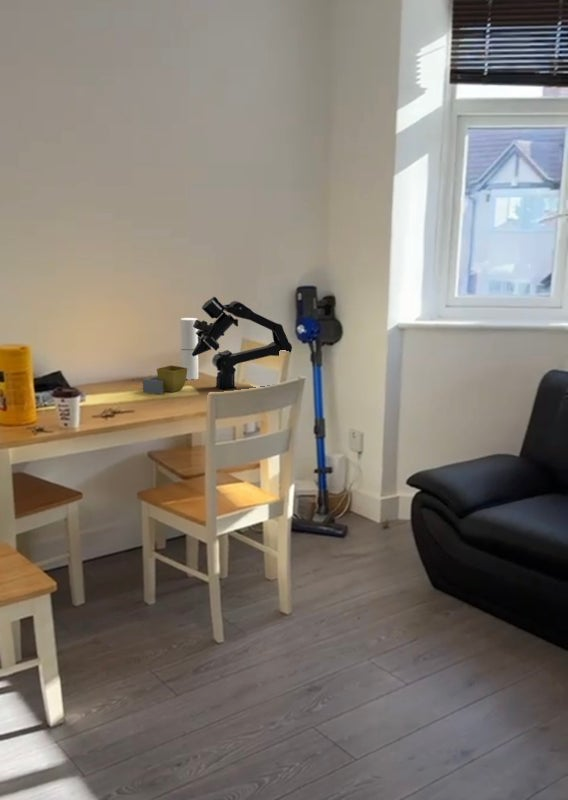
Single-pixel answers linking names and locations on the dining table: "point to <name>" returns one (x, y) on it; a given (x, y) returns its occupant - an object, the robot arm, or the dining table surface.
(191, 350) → the cylindrical container
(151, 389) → the V-block
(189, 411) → the dining table surface
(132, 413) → the dining table surface
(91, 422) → the dining table surface
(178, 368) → the flower pot
